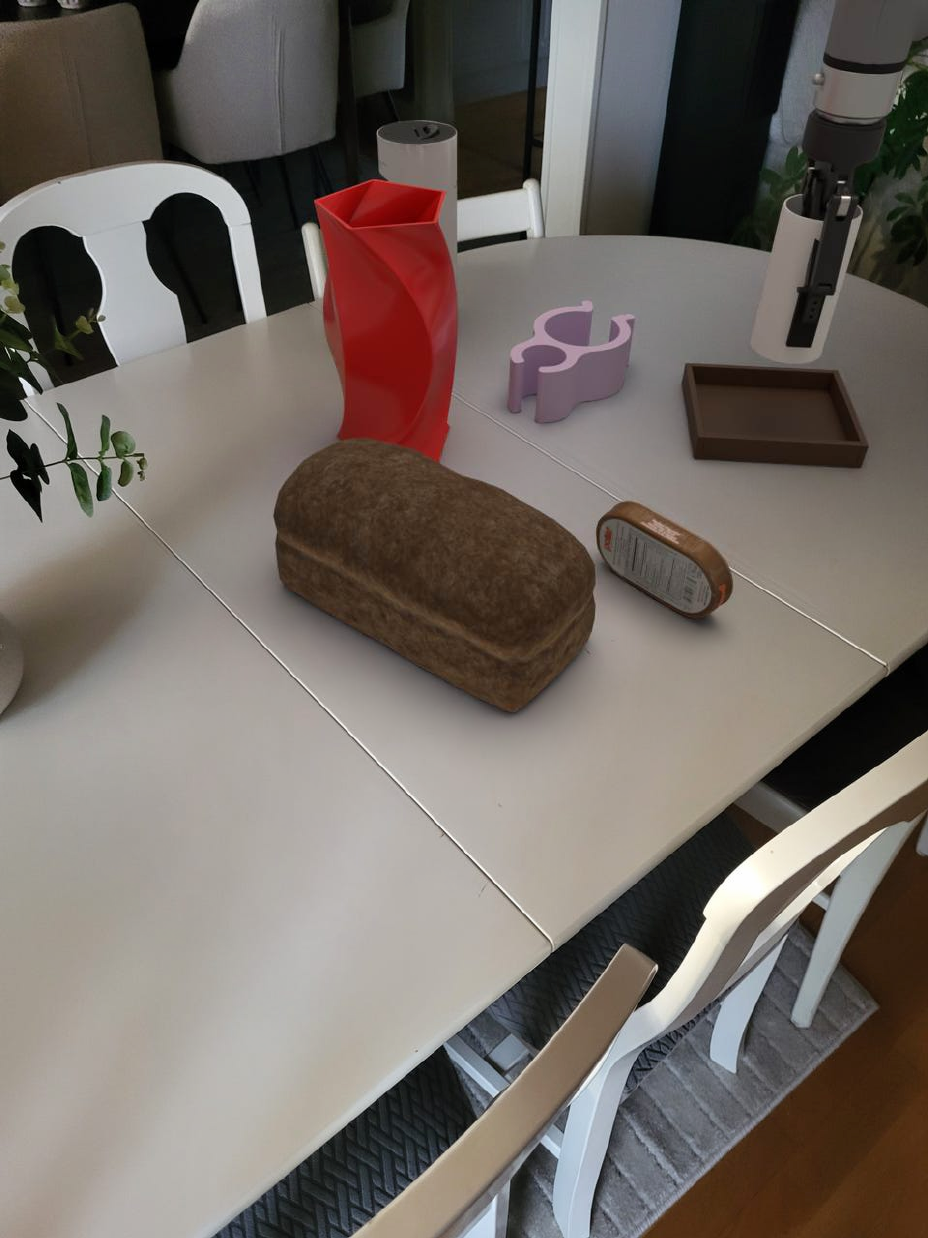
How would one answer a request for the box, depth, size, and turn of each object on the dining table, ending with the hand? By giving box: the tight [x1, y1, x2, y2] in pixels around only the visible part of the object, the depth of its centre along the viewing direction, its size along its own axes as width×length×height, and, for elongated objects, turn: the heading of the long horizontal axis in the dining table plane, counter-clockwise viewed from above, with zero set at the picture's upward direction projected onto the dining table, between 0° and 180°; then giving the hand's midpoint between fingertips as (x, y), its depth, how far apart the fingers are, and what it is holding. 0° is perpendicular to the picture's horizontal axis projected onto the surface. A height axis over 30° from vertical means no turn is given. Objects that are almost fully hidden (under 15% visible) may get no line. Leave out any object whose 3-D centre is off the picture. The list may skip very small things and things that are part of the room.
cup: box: [749, 194, 864, 365], centre depth 105 cm, size 8×8×16 cm
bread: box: [272, 438, 597, 714], centre depth 87 cm, size 15×32×16 cm, turn 53°
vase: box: [313, 178, 459, 463], centre depth 104 cm, size 15×14×28 cm
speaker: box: [376, 119, 459, 307], centre depth 128 cm, size 11×10×26 cm
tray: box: [681, 362, 870, 469], centre depth 117 cm, size 20×18×3 cm
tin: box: [595, 500, 734, 619], centre depth 92 cm, size 15×3×8 cm, turn 44°
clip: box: [507, 300, 636, 424], centre depth 122 cm, size 20×12×7 cm, turn 144°
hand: (791, 327), depth 109 cm, fingers closed on cup, 8 cm apart
